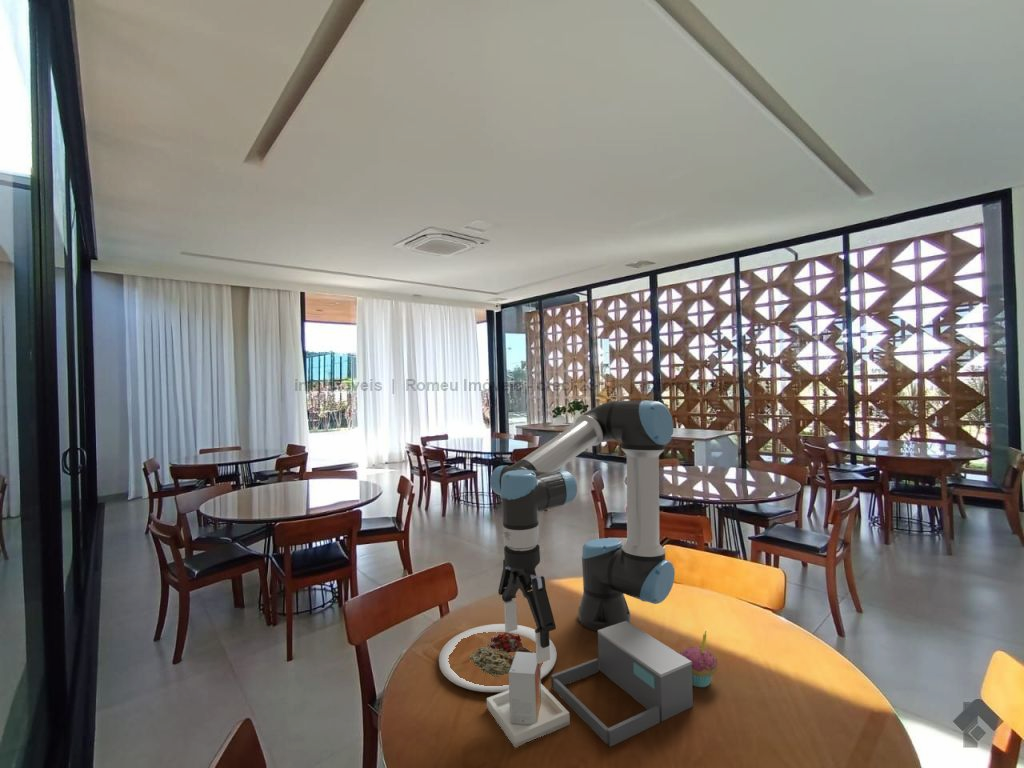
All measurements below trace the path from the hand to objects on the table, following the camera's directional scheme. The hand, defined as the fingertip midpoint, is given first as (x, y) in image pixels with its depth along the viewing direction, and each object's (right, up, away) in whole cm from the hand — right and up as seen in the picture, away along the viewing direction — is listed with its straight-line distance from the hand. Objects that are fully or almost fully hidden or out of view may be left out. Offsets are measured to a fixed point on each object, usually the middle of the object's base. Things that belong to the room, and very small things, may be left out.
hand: (526, 644), depth 100 cm
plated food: (-7, -16, +21) cm, 27 cm away
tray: (0, -15, 0) cm, 15 cm away
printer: (+21, -14, +5) cm, 26 cm away
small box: (0, -14, 0) cm, 14 cm away
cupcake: (+40, -14, +10) cm, 44 cm away
